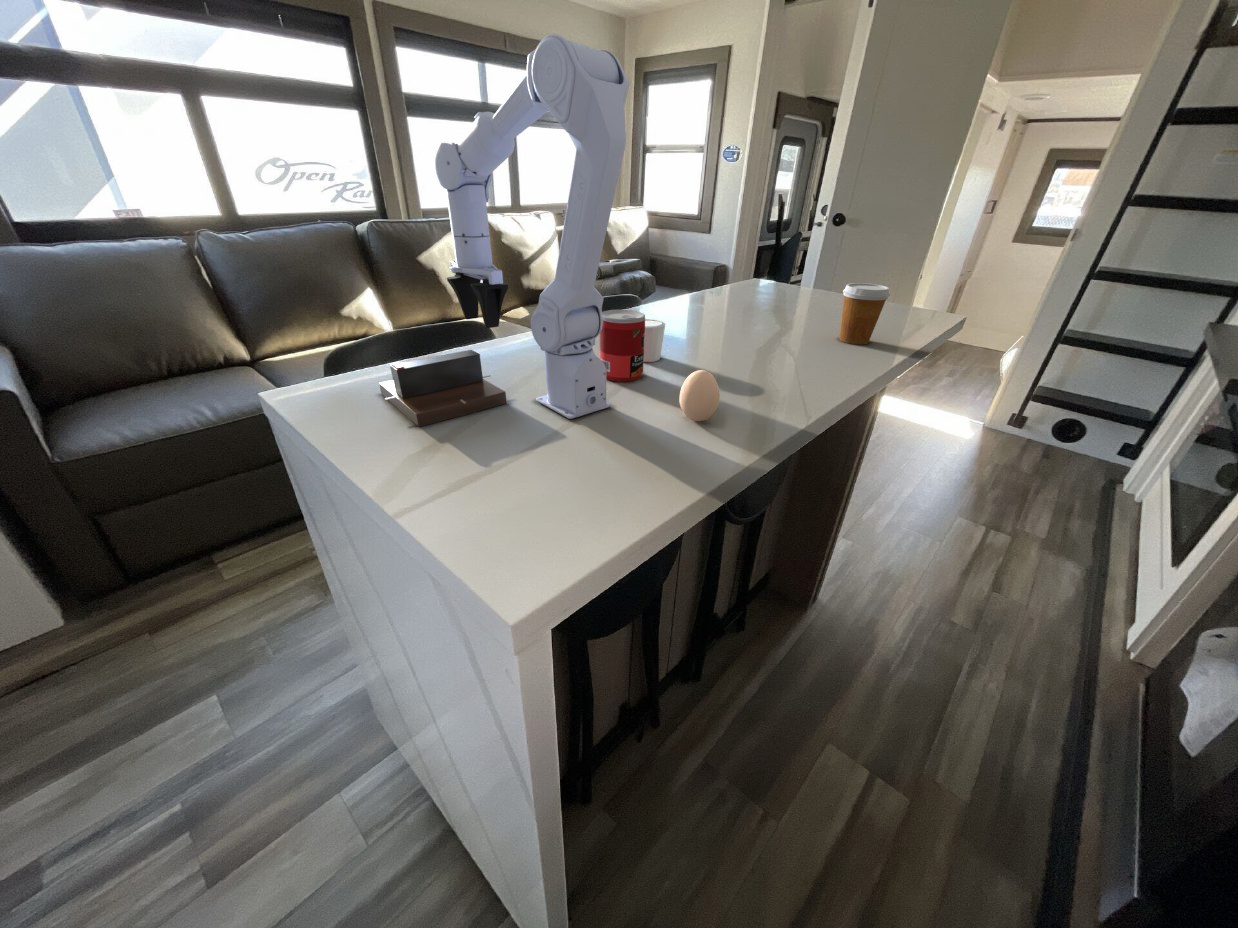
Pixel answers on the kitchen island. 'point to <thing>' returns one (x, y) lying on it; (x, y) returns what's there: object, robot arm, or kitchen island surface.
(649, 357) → the white cup
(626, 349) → the canned food
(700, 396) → the egg
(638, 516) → the kitchen island surface
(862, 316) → the disposable coffee cup
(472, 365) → the gray steel bar
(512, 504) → the kitchen island surface
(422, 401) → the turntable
